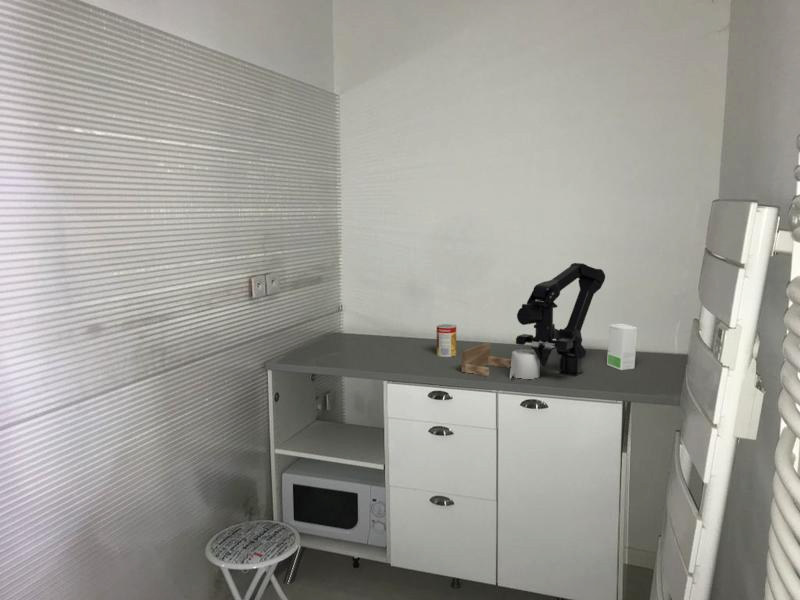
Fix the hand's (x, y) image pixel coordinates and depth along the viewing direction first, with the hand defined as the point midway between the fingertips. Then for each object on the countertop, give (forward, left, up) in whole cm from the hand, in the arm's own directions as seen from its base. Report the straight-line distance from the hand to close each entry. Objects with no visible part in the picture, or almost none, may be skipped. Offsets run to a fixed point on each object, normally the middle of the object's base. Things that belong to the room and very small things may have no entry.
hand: (543, 366), depth 222 cm
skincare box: (-15, -33, -5) cm, 37 cm away
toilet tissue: (+7, +1, -5) cm, 9 cm away
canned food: (+48, -11, -5) cm, 50 cm away
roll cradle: (+23, 0, -5) cm, 23 cm away
